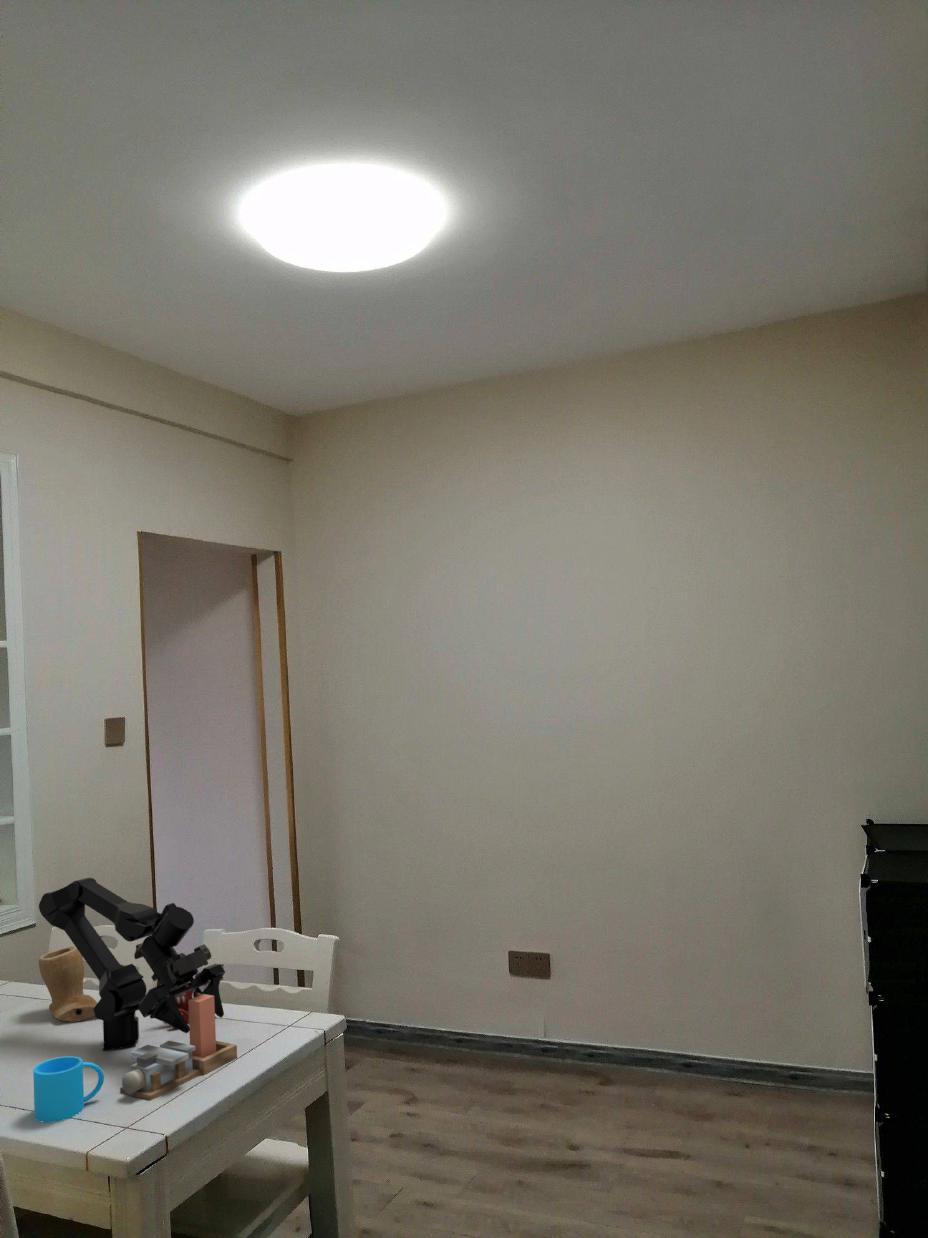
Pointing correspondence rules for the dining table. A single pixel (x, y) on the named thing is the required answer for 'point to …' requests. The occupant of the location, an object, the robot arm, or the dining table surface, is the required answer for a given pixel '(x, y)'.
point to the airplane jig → (170, 1067)
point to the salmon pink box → (202, 1025)
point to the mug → (61, 1088)
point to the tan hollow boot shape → (66, 984)
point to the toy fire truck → (185, 1001)
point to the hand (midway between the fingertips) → (205, 1024)
